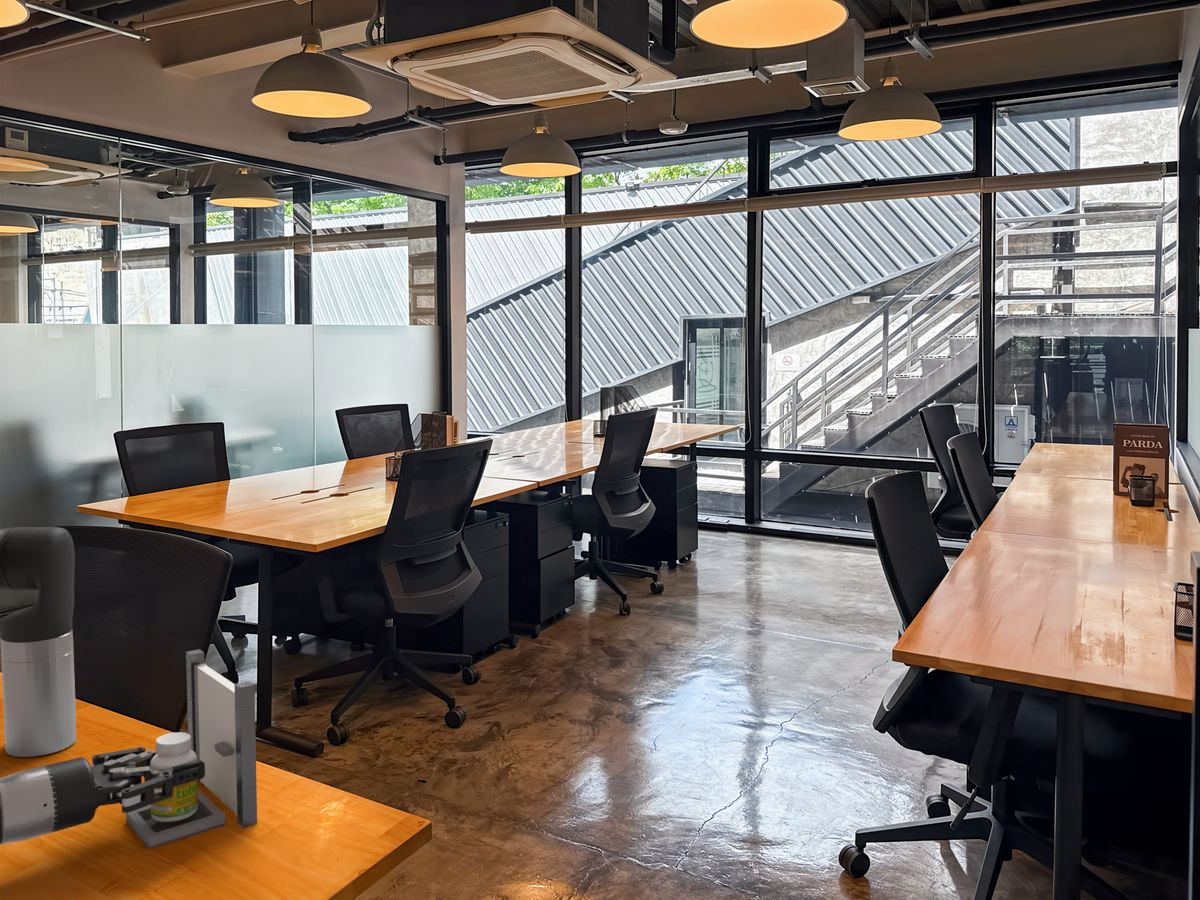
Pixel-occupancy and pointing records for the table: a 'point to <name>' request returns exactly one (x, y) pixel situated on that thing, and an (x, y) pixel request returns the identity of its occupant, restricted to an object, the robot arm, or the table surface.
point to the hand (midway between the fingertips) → (194, 760)
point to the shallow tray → (175, 823)
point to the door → (216, 733)
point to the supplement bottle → (185, 796)
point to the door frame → (243, 739)
